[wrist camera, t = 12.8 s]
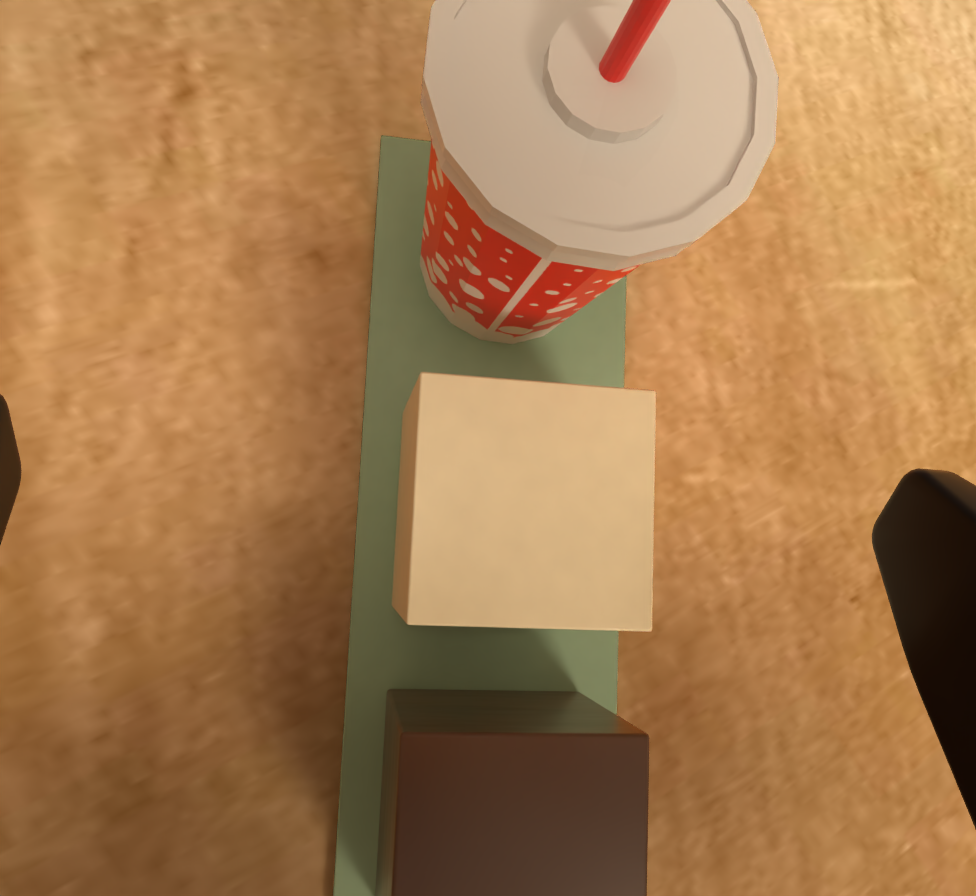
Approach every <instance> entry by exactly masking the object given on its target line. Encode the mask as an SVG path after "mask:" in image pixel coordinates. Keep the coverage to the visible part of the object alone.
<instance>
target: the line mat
mask: <svg viewBox="0 0 976 896" xmlns="http://www.w3.org/2000/svg"><path fill="white" fill-rule="evenodd" d="M430 150H431V141H424V140H416V139H408V138H400V137H392V136H384V135H382V136H381V144H380V160H379V176H378V192H377V208H376V223H375V239H374V255H373V271H372V287H371V302H370V318H369V334H368V350H367V366H366V381H365V397H364V413H363V429H362V445H361V461H360V476H359V492H358V508H357V524H356V540H355V555H354V571H353V587H352V603H351V619H350V634H349V650H348V666H347V682H346V698H345V714H344V729H343V745H342V761H341V777H340V793H339V808H338V824H337V840H336V856H335V872H334V887H333V896H375V888H376V871H377V853H378V836H379V818H380V801H381V783H382V766H383V748H384V731H385V713H386V696H387V691H388V690H389V689H440V690H505V691H571V692H580V693H582V694H583V695H585V696H586V697H588V698H590V699H591V700H593V701H595V702H596V703H598V704H599V705H601V706H603V707H604V708H606V709H608V710H609V711H611V712H612V713H614V714H616V715H617V674H618V631H605V630H570V629H535V628H499V627H464V626H428V625H408V624H406V622H405V621H404V620H403V619H402V617H401V616H400V615H399V614H398V613H397V611H396V610H395V609H394V608H393V606H392V590H393V572H394V555H395V537H396V520H397V502H398V485H399V467H400V450H401V432H402V415H403V411H404V409H405V407H406V404H407V402H408V400H409V397H410V395H411V393H412V391H413V388H414V386H415V384H416V382H417V379H418V377H419V375H420V373H421V372H431V373H443V374H456V375H469V376H481V377H494V378H506V379H519V380H531V381H544V382H557V383H569V384H582V385H594V386H607V387H619V388H624V362H625V318H626V276H624V277H623V278H622V279H620V280H619V281H618V282H616V283H615V284H614V285H612V286H611V287H609V288H608V289H607V290H605V291H604V292H603V293H601V294H600V295H599V296H597V297H596V298H595V299H593V300H592V301H590V302H589V303H588V304H586V305H585V306H584V307H582V308H581V309H580V310H578V311H577V312H576V313H574V314H573V315H571V316H570V317H569V318H567V319H566V320H565V321H563V322H562V323H561V324H559V325H558V326H557V327H555V328H554V329H552V330H551V331H550V332H548V333H547V334H546V335H544V336H542V337H538V338H534V339H531V340H527V341H523V342H519V343H515V344H507V343H500V342H493V341H486V340H479V339H478V338H476V337H474V336H472V335H471V334H469V333H467V332H465V331H464V330H462V329H460V328H458V327H457V326H455V325H453V324H451V323H450V322H449V321H448V319H447V318H446V317H445V316H444V314H443V313H442V312H441V311H440V309H439V308H438V307H437V306H436V304H435V303H434V302H433V301H432V299H431V298H430V297H429V294H428V291H427V288H426V284H425V281H424V277H423V274H422V271H421V267H420V256H421V245H422V235H423V224H424V213H425V203H426V192H427V182H428V171H429V160H430Z"/></svg>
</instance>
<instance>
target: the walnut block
mask: <svg viewBox="0 0 976 896" xmlns="http://www.w3.org/2000/svg"><path fill="white" fill-rule="evenodd" d="M648 786H649V736H648V734H646V733H645V732H643V731H642V730H640V729H638V728H637V727H635V726H634V725H632V724H630V723H629V722H627V721H625V720H624V719H622V718H621V717H619V716H617V715H616V714H614V713H612V712H611V711H609V710H608V709H606V708H604V707H603V706H601V705H599V704H598V703H596V702H595V701H593V700H591V699H590V698H588V697H586V696H585V695H583V694H582V693H580V692H571V691H505V690H440V689H389V690H388V691H387V696H386V713H385V731H384V748H383V766H382V783H381V801H380V818H379V836H378V853H377V871H376V888H375V896H647V844H648Z"/></svg>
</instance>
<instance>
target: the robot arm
mask: <svg viewBox="0 0 976 896" xmlns="http://www.w3.org/2000/svg"><path fill="white" fill-rule="evenodd" d="M20 481H21V462H20V457H19V453H18V448H17V444H16V439H15V435H14V431H13V426H12V422H11V417H10V413H9V409H8V405H7V403H6V401H5V399H4V397H3V396H2V395H1V394H0V545H1V542H2V539H3V535H4V532H5V529H6V526H7V523H8V520H9V517H10V514H11V511H12V508H13V505H14V502H15V499H16V496H17V493H18V490H19V486H20ZM872 544H873V549H874V552H875V555H876V559H877V562H878V565H879V569H880V572H881V575H882V579H883V582H884V585H885V589H886V592H887V596H888V599H889V602H890V606H891V609H892V612H893V616H894V619H895V622H896V626H897V629H898V632H899V636H900V639H901V642H902V646H903V649H904V652H905V655H906V658H907V661H908V664H909V667H910V670H911V673H912V675H913V678H914V681H915V683H916V686H917V688H918V691H919V693H920V696H921V698H922V701H923V703H924V705H925V708H926V710H927V713H928V715H929V717H930V720H931V722H932V725H933V727H934V730H935V732H936V734H937V737H938V739H939V742H940V744H941V746H942V749H943V751H944V754H945V756H946V759H947V761H948V763H949V766H950V768H951V771H952V773H953V775H954V778H955V780H956V783H957V785H958V787H959V790H960V792H961V795H962V797H963V800H964V802H965V804H966V807H967V809H968V812H969V814H970V816H971V819H972V821H973V824H974V826H975V829H976V486H975V485H974V484H972V483H970V482H969V481H967V480H965V479H964V478H962V477H960V476H958V475H957V474H955V473H952V472H949V471H942V470H930V469H915V470H911V471H910V472H908V473H907V474H906V475H904V477H903V478H902V479H901V481H900V482H899V484H898V486H897V487H896V489H895V491H894V492H893V494H892V496H891V497H890V499H889V501H888V502H887V504H886V505H885V507H884V509H883V510H882V512H881V514H880V515H879V517H878V519H877V520H876V522H875V524H874V528H873V532H872Z"/></svg>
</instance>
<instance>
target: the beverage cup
mask: <svg viewBox="0 0 976 896" xmlns="http://www.w3.org/2000/svg"><path fill="white" fill-rule="evenodd" d="M778 80H779V77H778V74H777V71H776V68H775V65H774V62H773V59H772V56H771V53H770V50H769V47H768V44H767V41H766V38H765V35H764V32H763V29H762V27H761V24H760V21H759V18H758V15H757V13H756V11H755V10H754V9H753V8H752V6H751V5H750V4H749V2H748V1H747V0H435V2H434V3H433V5H432V7H431V12H430V18H429V27H428V35H427V44H426V53H425V62H424V70H423V79H422V95H421V106H422V109H423V112H424V116H425V119H426V122H427V125H428V129H429V132H430V135H431V150H430V160H429V171H428V182H427V192H426V203H425V213H424V224H423V235H422V245H421V256H420V267H421V271H422V274H423V277H424V281H425V284H426V288H427V291H428V294H429V297H430V298H431V299H432V301H433V302H434V303H435V304H436V306H437V307H438V308H439V309H440V311H441V312H442V313H443V314H444V316H445V317H446V318H447V319H448V321H449V322H450V323H451V324H453V325H455V326H457V327H458V328H460V329H462V330H464V331H465V332H467V333H469V334H471V335H472V336H474V337H476V338H478V339H479V340H486V341H493V342H500V343H507V344H515V343H519V342H523V341H527V340H531V339H534V338H538V337H542V336H544V335H546V334H547V333H548V332H550V331H551V330H552V329H554V328H555V327H557V326H558V325H559V324H561V323H562V322H563V321H565V320H566V319H567V318H569V317H570V316H571V315H573V314H574V313H576V312H577V311H578V310H580V309H581V308H582V307H584V306H585V305H586V304H588V303H589V302H590V301H592V300H593V299H595V298H596V297H597V296H599V295H600V294H601V293H603V292H604V291H605V290H607V289H608V288H609V287H611V286H612V285H614V284H615V283H616V282H618V281H619V280H620V279H622V278H623V277H624V276H626V275H627V274H628V273H630V272H631V271H633V270H634V269H635V268H637V267H638V266H639V265H641V264H644V263H648V262H652V261H656V260H660V259H664V258H668V257H672V256H676V255H677V254H679V253H680V252H681V251H682V250H684V249H685V248H686V247H689V246H690V245H692V244H693V243H694V242H695V241H697V240H698V239H699V238H700V237H702V236H703V235H704V234H705V233H707V232H708V231H709V230H710V229H712V228H713V227H714V226H715V225H717V224H718V223H719V222H720V221H722V220H723V219H724V218H726V217H727V216H728V215H729V214H731V213H732V212H733V211H734V210H736V209H737V208H738V207H739V206H740V205H742V204H743V203H744V202H745V201H746V200H747V199H748V197H749V195H750V193H751V191H752V189H753V187H754V185H755V183H756V181H757V179H758V177H759V175H760V173H761V171H762V169H763V167H764V165H765V163H766V161H767V159H768V157H769V155H770V153H771V151H772V149H773V147H774V145H775V138H776V119H777V99H778Z"/></svg>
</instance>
